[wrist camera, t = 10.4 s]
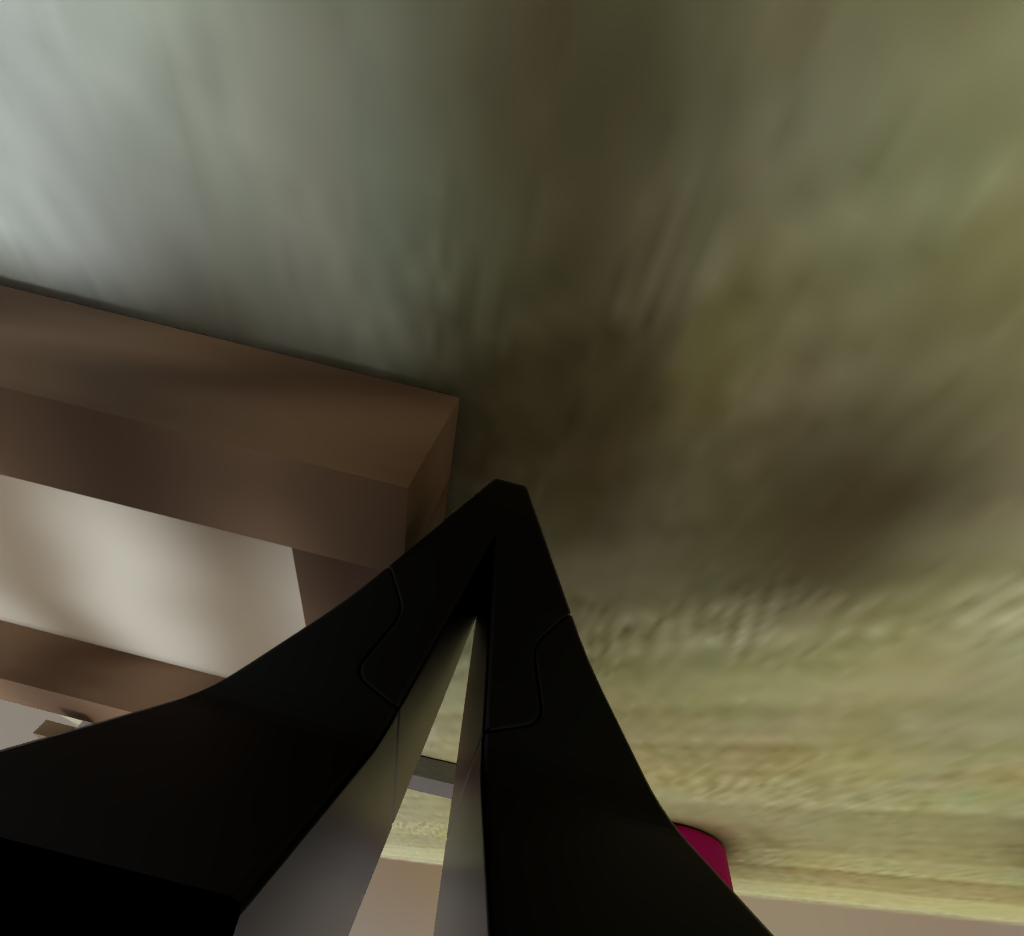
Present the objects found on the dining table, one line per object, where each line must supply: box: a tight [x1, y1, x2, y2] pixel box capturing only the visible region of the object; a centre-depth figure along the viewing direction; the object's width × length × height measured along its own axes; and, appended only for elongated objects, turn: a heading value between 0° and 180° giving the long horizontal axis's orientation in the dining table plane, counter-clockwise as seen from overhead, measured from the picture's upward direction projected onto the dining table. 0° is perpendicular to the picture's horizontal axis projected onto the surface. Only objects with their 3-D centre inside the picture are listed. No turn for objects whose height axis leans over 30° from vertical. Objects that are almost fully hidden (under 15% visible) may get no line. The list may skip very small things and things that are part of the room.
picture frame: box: [0, 285, 460, 739], centre depth 12 cm, size 22×17×4 cm
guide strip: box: [408, 756, 456, 799], centre depth 21 cm, size 20×2×1 cm, turn 82°
